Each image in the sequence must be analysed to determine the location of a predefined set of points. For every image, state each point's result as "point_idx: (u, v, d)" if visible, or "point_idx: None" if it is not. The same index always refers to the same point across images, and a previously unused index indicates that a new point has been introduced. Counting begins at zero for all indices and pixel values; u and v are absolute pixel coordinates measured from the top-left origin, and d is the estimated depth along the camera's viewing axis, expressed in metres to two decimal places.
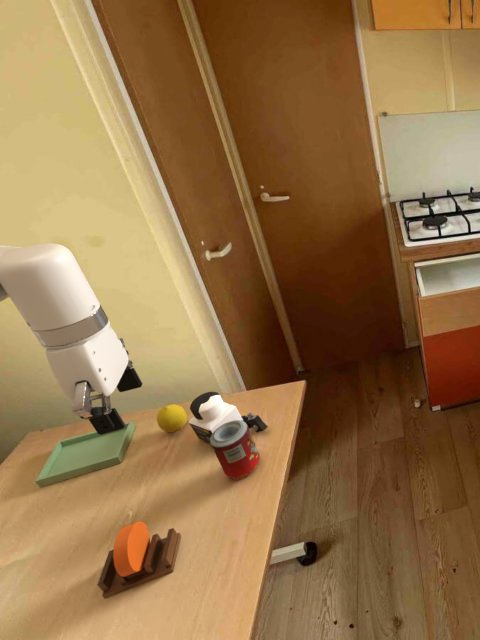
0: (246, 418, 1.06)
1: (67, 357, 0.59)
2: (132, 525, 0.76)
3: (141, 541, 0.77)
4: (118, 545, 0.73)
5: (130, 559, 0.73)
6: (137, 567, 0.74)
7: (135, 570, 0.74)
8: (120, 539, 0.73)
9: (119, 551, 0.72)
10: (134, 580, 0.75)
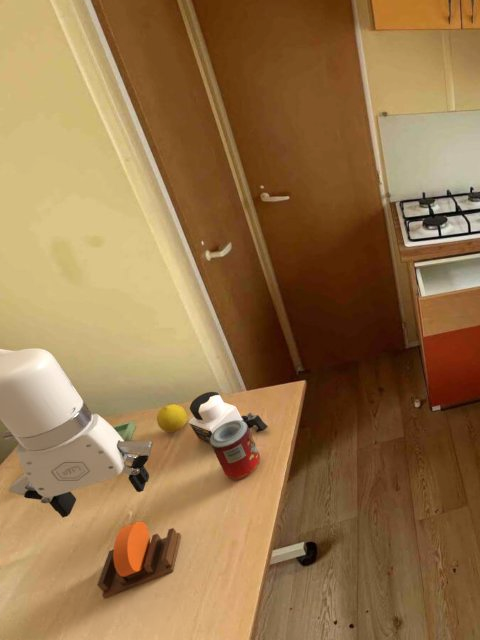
0: (246, 418, 1.06)
1: (102, 426, 0.65)
2: (132, 525, 0.76)
3: (141, 541, 0.77)
4: (118, 545, 0.73)
5: (130, 559, 0.73)
6: (137, 567, 0.74)
7: (135, 570, 0.74)
8: (120, 539, 0.73)
9: (119, 551, 0.72)
10: (134, 580, 0.75)
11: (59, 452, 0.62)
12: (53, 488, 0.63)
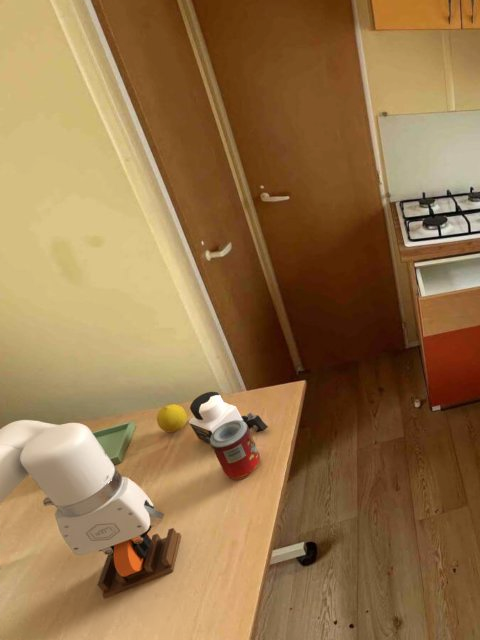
0: (246, 418, 1.06)
1: (131, 488, 0.71)
2: None
3: None
4: (118, 545, 0.73)
5: (131, 559, 0.73)
6: (137, 567, 0.74)
7: (135, 570, 0.74)
8: None
9: (119, 551, 0.72)
10: (134, 580, 0.75)
11: (94, 516, 0.67)
12: (87, 547, 0.69)
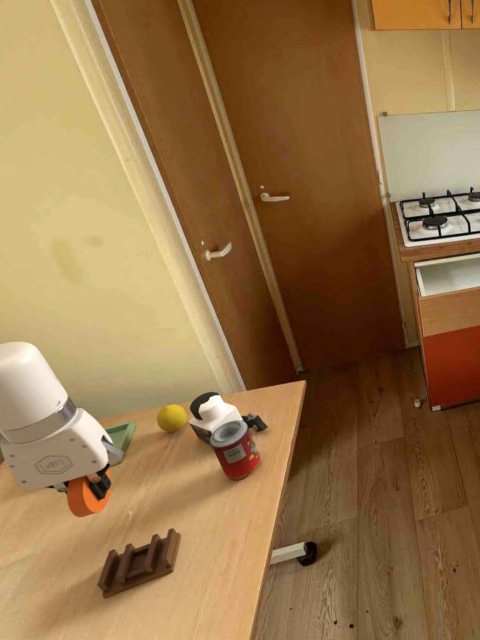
0: (246, 418, 1.06)
1: (86, 420, 0.65)
2: None
3: None
4: (73, 483, 0.67)
5: (86, 498, 0.68)
6: (94, 508, 0.69)
7: (91, 511, 0.68)
8: None
9: (74, 489, 0.67)
10: (134, 580, 0.75)
11: (43, 445, 0.62)
12: (36, 481, 0.64)
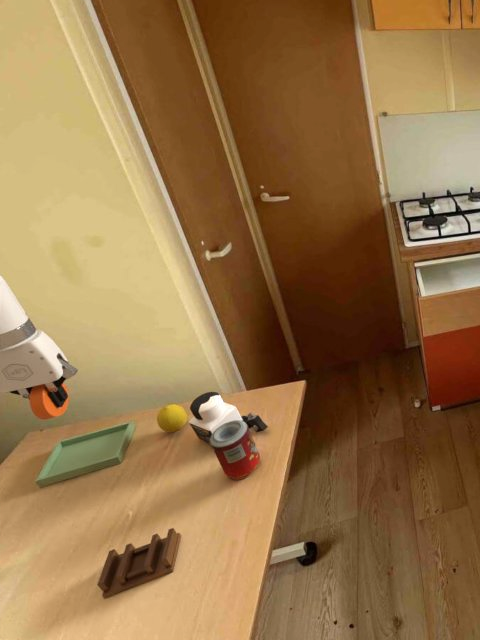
0: (246, 418, 1.06)
1: (44, 338, 0.82)
2: None
3: None
4: (34, 390, 0.84)
5: (45, 403, 0.84)
6: (52, 412, 0.86)
7: (50, 413, 0.85)
8: (37, 386, 0.85)
9: (35, 395, 0.84)
10: (134, 580, 0.75)
11: (8, 355, 0.79)
12: (3, 385, 0.80)
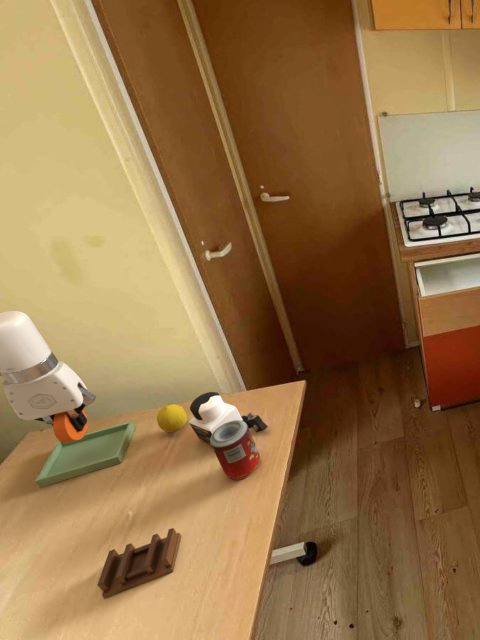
0: (246, 418, 1.06)
1: (66, 369, 0.89)
2: None
3: None
4: (57, 417, 0.91)
5: (68, 428, 0.91)
6: (74, 436, 0.93)
7: (72, 438, 0.92)
8: (59, 413, 0.92)
9: (58, 421, 0.91)
10: (134, 580, 0.75)
11: (34, 386, 0.86)
12: (29, 413, 0.87)
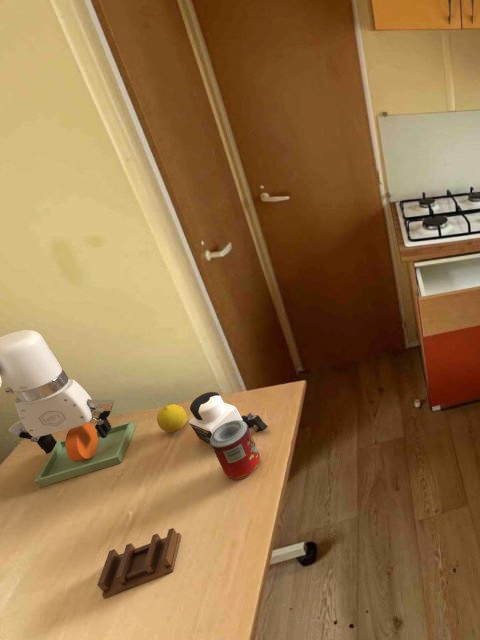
0: (246, 418, 1.06)
1: (76, 387, 0.91)
2: None
3: (89, 437, 0.98)
4: (69, 438, 0.93)
5: (80, 449, 0.94)
6: (86, 455, 0.95)
7: (84, 457, 0.95)
8: (71, 434, 0.94)
9: (70, 442, 0.93)
10: (134, 580, 0.75)
11: (44, 403, 0.88)
12: (39, 430, 0.89)
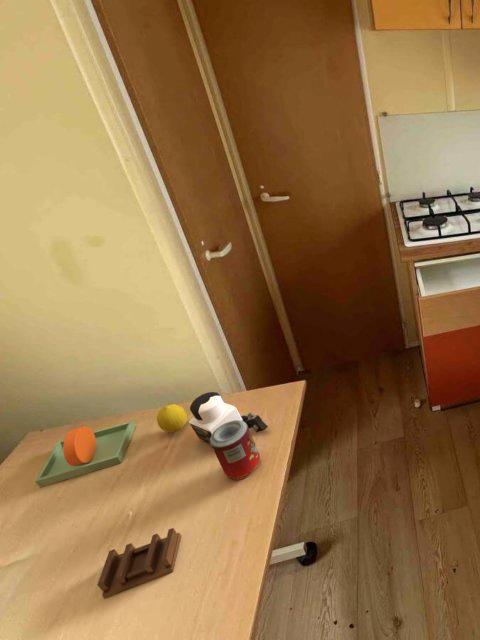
0: (246, 418, 1.06)
1: None
2: (76, 431, 0.94)
3: (87, 440, 0.97)
4: (66, 447, 0.92)
5: (79, 456, 0.93)
6: (86, 459, 0.95)
7: (85, 462, 0.95)
8: (67, 442, 0.92)
9: (68, 451, 0.92)
10: (134, 580, 0.75)
11: None
12: None
